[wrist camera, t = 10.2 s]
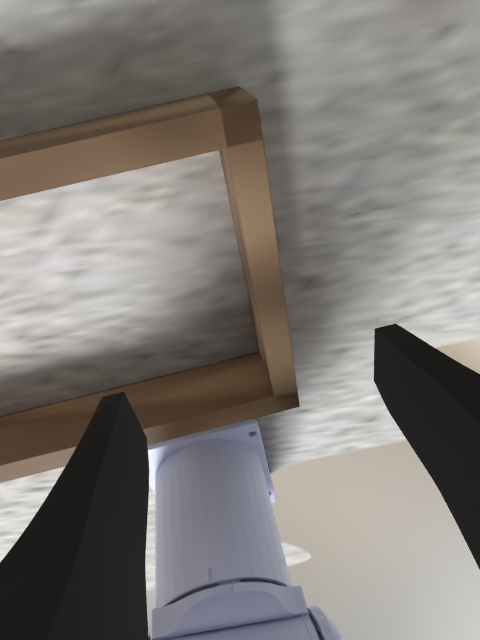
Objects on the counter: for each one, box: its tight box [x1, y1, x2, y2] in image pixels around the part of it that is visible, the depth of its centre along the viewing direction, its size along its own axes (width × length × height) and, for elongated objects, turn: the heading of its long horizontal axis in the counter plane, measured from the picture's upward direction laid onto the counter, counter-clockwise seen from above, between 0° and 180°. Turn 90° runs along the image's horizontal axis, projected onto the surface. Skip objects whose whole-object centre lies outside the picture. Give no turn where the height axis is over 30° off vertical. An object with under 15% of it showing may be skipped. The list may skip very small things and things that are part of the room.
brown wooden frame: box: [0, 87, 299, 483], centre depth 19 cm, size 14×17×4 cm
